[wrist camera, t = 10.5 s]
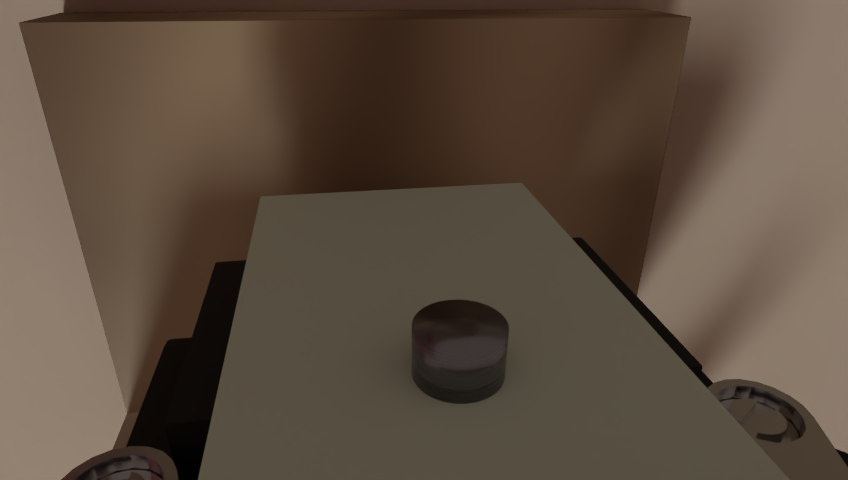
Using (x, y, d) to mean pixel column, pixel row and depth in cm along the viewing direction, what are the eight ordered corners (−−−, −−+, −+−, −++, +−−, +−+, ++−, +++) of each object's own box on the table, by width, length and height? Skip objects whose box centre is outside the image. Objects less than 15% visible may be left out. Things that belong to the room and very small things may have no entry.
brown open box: (644, 9, 14) (974, 65, 7) (584, 376, 19) (745, 627, 12) (62, 12, 12) (-291, 94, 5) (162, 421, 17) (52, 754, 10)
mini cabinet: (523, 153, 11) (878, 491, 4) (507, 348, 13) (727, 800, 6) (256, 165, 11) (137, 602, 3) (281, 370, 13) (239, 912, 5)
